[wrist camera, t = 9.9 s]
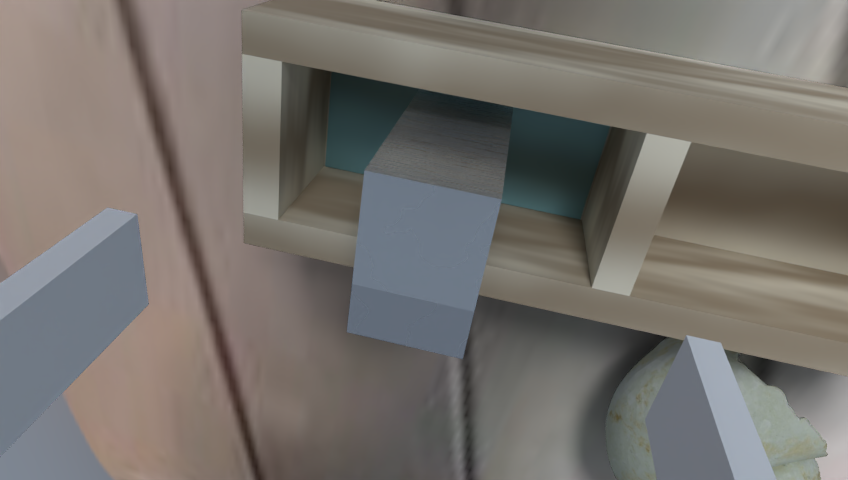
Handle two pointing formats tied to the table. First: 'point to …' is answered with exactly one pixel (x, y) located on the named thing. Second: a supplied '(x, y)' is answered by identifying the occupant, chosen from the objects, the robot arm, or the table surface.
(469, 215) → the pale blue pillar block
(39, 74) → the table surface
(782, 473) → the seashell
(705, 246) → the well block
